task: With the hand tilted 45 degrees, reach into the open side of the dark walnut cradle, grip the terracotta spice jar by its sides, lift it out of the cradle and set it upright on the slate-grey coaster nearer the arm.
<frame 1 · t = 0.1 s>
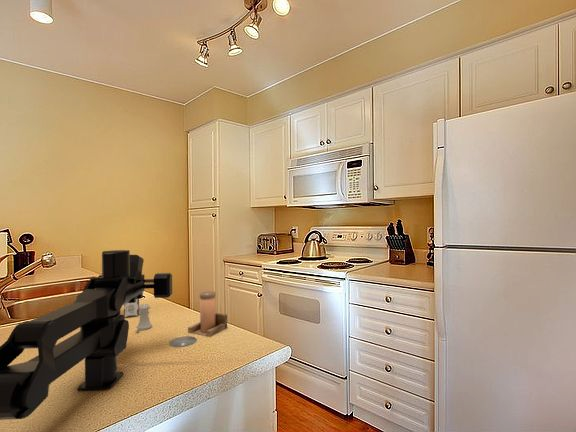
hand: (147, 280, 93), 17 cm above the countertop, tool horizontal, fingers open, 9 cm apart
rook chess piece: (144, 331, 99), on the countertop
slate coaster: (183, 345, 87), on the countertop
candy bar box: (132, 313, 118), on the countertop
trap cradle: (208, 333, 96), on the countertop
spice jar: (208, 330, 96), point 1 cm above the countertop, touching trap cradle
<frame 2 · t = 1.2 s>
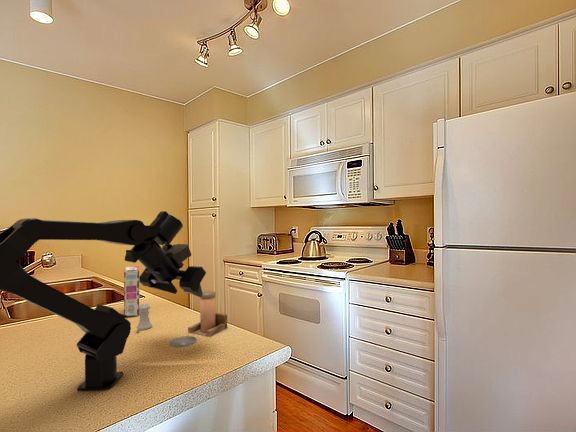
hand: (188, 294, 89), 13 cm above the countertop, tool tilted 45°, fingers open, 9 cm apart
nothing on the countertop moved.
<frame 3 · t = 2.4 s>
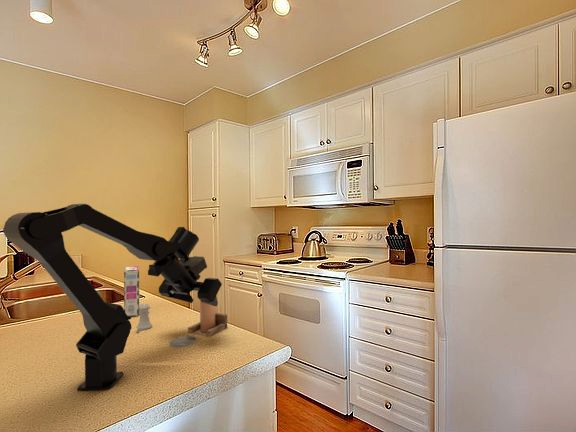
hand: (204, 303, 94), 9 cm above the countertop, tool tilted 45°, fingers open, 9 cm apart
nothing on the countertop moved.
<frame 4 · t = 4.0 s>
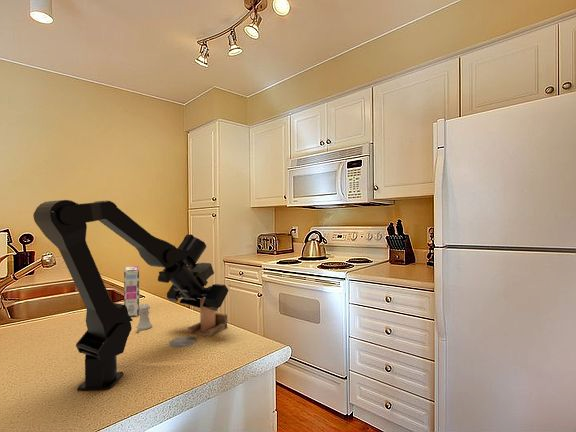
hand: (210, 308, 97), 7 cm above the countertop, tool tilted 45°, fingers closed on spice jar, 4 cm apart
spice jar: (208, 330, 96), point 1 cm above the countertop, touching gripper, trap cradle
everything else where it was.
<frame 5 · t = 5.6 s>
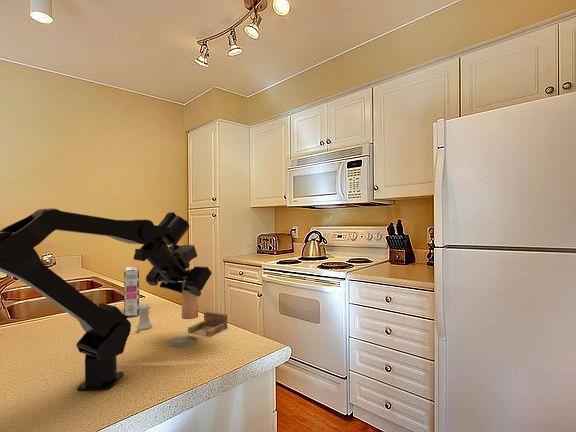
hand: (193, 294, 91), 13 cm above the countertop, tool tilted 45°, fingers closed on spice jar, 4 cm apart
spice jar: (189, 317, 89), point 7 cm above the countertop, touching gripper
everything else where it was.
when the fingers open (8 cm above the countertop, at t = 7.2 s): spice jar stays where it is, resting on slate coaster.
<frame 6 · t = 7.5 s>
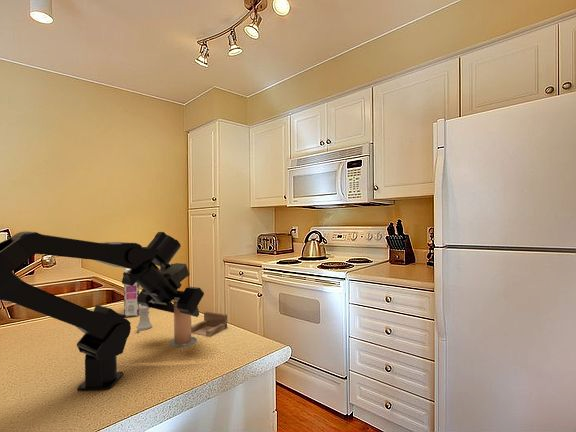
hand: (186, 313, 88), 8 cm above the countertop, tool tilted 45°, fingers open, 8 cm apart
spice jar: (182, 341, 87), point 1 cm above the countertop, touching slate coaster
everything else where it was.
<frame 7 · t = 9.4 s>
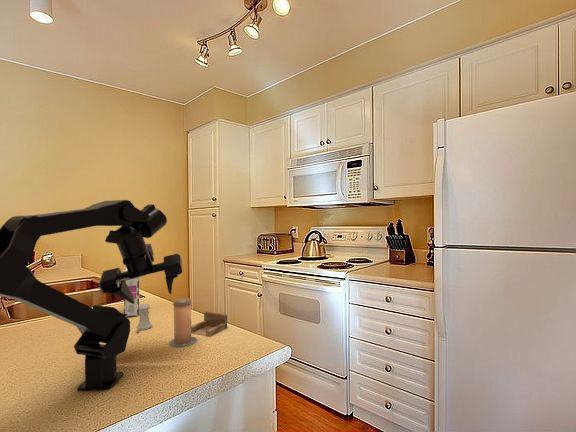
hand: (152, 297, 84), 14 cm above the countertop, tool tilted 30°, fingers open, 9 cm apart
nothing on the countertop moved.
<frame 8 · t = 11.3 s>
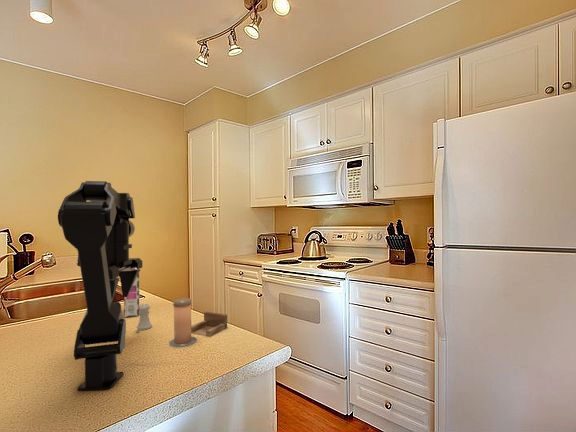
hand: (117, 301, 84), 13 cm above the countertop, tool pointing down, fingers open, 9 cm apart
nothing on the countertop moved.
at the end: spice jar 0.1 cm off-centre on the slate coaster, point 1.2 cm above the slate coaster's base; spice jar tilted 0°; the gripper is holding nothing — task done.
